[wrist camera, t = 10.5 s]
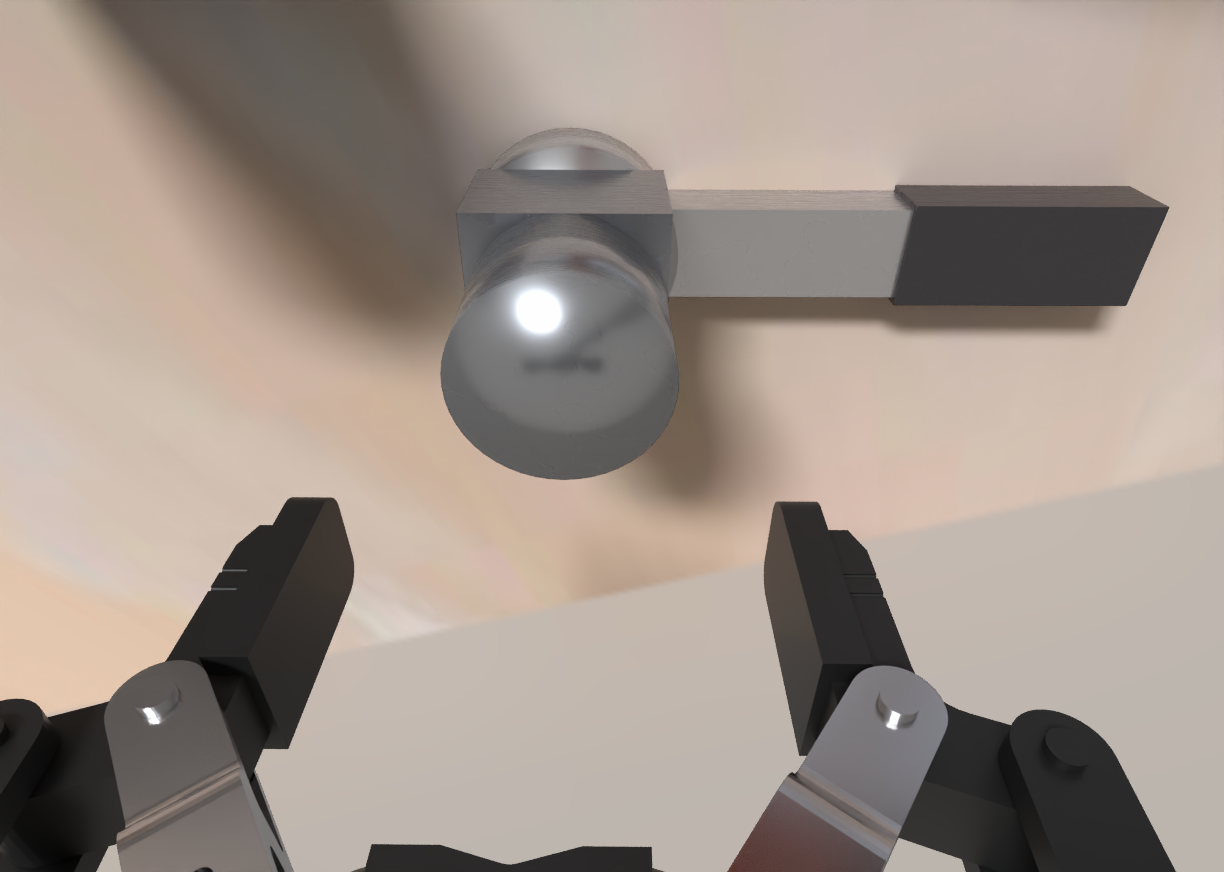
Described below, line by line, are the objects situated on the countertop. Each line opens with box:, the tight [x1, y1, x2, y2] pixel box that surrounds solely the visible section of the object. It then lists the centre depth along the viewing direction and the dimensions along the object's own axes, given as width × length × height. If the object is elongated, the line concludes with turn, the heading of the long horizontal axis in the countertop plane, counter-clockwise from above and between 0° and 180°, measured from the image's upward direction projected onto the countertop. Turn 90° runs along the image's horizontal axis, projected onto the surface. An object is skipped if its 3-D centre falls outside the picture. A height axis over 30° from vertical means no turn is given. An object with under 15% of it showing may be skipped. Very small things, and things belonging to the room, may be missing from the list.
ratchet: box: [491, 128, 1169, 306], centre depth 24 cm, size 22×7×6 cm, turn 90°
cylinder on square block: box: [441, 169, 679, 480], centre depth 21 cm, size 6×6×8 cm
